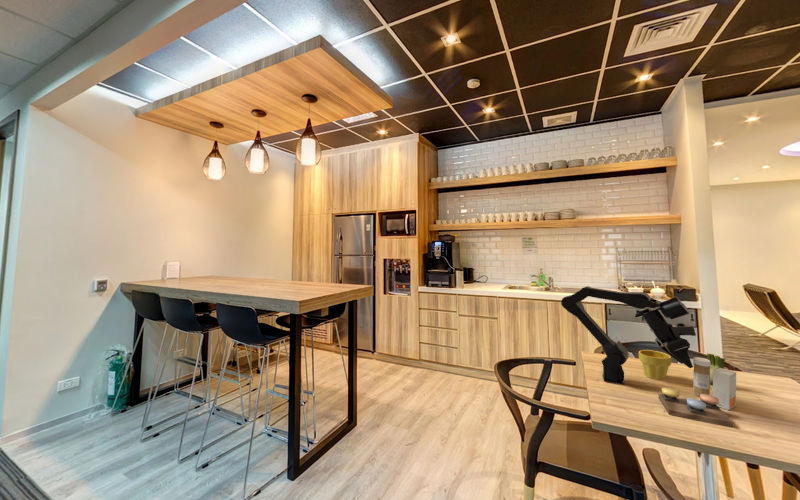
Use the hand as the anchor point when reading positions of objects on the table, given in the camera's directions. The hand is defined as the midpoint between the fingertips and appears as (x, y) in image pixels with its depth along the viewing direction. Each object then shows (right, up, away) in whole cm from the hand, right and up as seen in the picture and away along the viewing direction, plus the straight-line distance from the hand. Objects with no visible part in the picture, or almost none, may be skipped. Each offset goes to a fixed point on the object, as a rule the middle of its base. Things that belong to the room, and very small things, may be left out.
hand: (687, 365), depth 108 cm
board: (-5, -12, -7) cm, 15 cm away
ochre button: (-8, -10, -2) cm, 13 cm away
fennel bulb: (+22, -12, +12) cm, 28 cm away
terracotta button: (+1, -10, -7) cm, 12 cm away
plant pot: (+4, -12, +19) cm, 23 cm away
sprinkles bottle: (+9, -13, +3) cm, 16 cm away
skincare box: (+9, -13, -4) cm, 16 cm away
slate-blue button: (-7, -10, -10) cm, 16 cm away
